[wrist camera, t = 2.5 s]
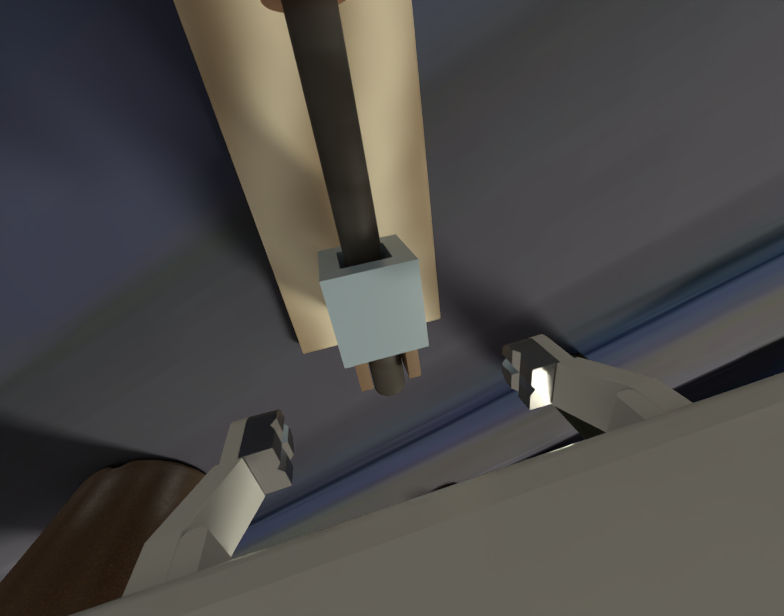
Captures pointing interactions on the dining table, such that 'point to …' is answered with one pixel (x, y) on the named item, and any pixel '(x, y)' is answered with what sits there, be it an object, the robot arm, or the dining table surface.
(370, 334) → the marker sleeve
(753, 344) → the dining table surface
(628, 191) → the dining table surface
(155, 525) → the plant pot
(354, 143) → the cord stand
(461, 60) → the dining table surface
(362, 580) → the robot arm
